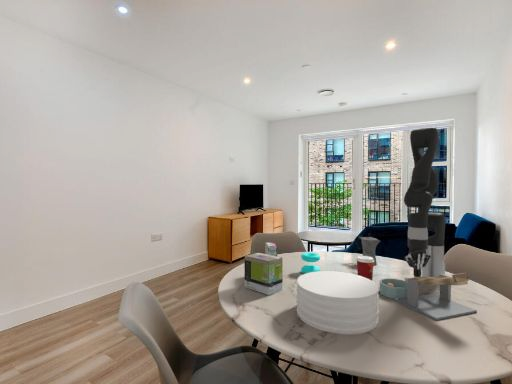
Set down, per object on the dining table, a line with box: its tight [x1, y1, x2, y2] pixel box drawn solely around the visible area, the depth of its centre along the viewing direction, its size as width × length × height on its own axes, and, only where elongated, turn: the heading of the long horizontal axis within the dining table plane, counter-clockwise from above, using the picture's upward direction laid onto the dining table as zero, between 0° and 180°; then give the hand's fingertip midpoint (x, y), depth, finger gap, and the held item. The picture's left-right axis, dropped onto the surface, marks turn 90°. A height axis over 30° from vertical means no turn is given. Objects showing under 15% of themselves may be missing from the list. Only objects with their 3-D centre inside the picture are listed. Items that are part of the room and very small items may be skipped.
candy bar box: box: [264, 241, 278, 256], centre depth 143 cm, size 11×5×16 cm, turn 5°
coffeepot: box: [354, 233, 381, 267], centre depth 167 cm, size 15×9×18 cm, turn 44°
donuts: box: [300, 252, 321, 274], centre depth 148 cm, size 10×10×10 cm
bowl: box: [378, 277, 408, 300], centre depth 119 cm, size 12×12×5 cm
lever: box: [403, 272, 470, 286], centre depth 108 cm, size 30×16×4 cm, turn 18°
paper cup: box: [355, 255, 374, 281], centre depth 125 cm, size 8×8×14 cm
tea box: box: [243, 252, 284, 296], centre depth 125 cm, size 15×10×15 cm
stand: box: [396, 274, 478, 322], centre depth 106 cm, size 17×20×10 cm
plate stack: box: [296, 270, 380, 335], centre depth 100 cm, size 28×28×12 cm
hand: (417, 277), depth 120 cm, fingers closed
